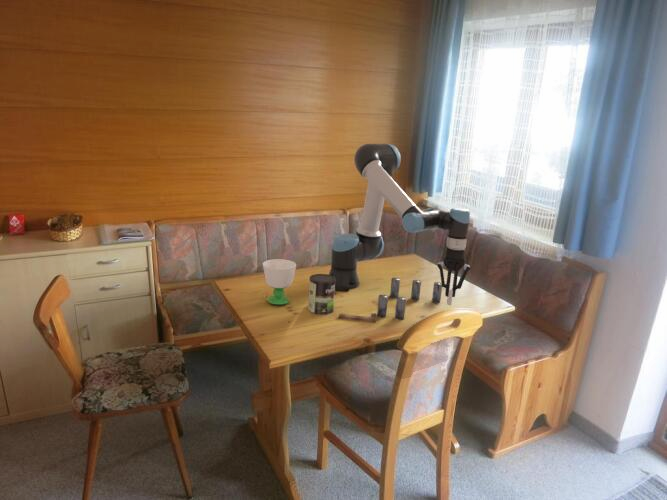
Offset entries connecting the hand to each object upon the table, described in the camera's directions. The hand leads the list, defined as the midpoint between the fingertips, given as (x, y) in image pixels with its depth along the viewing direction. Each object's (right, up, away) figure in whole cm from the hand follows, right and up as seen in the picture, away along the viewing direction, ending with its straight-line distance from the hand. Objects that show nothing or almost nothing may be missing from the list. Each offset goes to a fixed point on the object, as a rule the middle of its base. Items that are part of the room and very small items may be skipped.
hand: (448, 304), depth 196 cm
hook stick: (-38, -5, -9) cm, 39 cm away
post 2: (-20, +1, +15) cm, 25 cm away
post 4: (-12, 0, +14) cm, 18 cm away
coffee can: (-52, -3, -4) cm, 52 cm away
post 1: (-28, -5, -6) cm, 29 cm away
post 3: (-21, -5, -7) cm, 23 cm away
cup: (-70, +1, +4) cm, 70 cm away
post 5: (-3, -1, +12) cm, 13 cm away
